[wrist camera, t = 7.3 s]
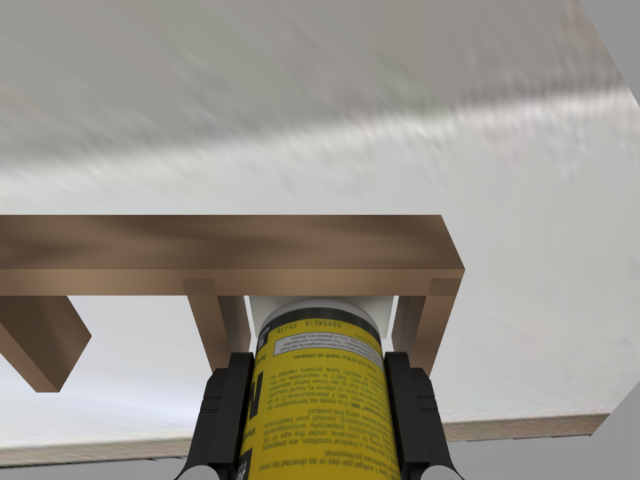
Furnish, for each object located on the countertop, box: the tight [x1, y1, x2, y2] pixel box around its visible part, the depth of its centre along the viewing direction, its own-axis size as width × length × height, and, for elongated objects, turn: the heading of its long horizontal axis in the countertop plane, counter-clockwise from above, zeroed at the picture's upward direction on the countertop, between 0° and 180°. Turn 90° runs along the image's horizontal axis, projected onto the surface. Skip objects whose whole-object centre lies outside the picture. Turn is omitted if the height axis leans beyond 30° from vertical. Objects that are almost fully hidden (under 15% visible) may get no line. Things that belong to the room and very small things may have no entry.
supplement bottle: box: [236, 298, 401, 480], centre depth 11 cm, size 5×5×8 cm
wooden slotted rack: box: [0, 215, 465, 393], centre depth 15 cm, size 17×7×3 cm, turn 90°
